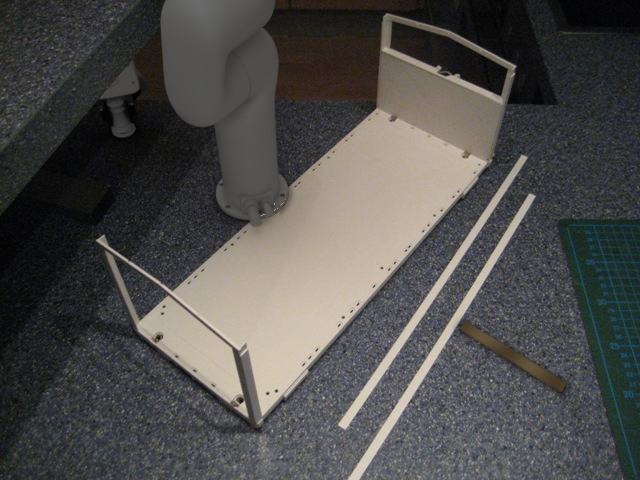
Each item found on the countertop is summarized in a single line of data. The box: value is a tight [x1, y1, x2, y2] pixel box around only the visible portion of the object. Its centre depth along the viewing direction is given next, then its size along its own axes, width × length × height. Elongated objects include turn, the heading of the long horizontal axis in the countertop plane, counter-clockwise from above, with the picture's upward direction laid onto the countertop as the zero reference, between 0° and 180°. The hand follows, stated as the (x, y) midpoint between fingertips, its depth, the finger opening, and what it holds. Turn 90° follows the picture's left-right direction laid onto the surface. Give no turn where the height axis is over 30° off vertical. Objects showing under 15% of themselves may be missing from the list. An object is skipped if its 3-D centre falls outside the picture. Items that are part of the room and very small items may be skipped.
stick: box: [459, 320, 567, 394], centre depth 88 cm, size 16×2×1 cm, turn 51°
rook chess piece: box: [105, 96, 136, 139], centre depth 117 cm, size 4×4×8 cm
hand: (121, 120), depth 118 cm, fingers closed on rook chess piece, 3 cm apart
